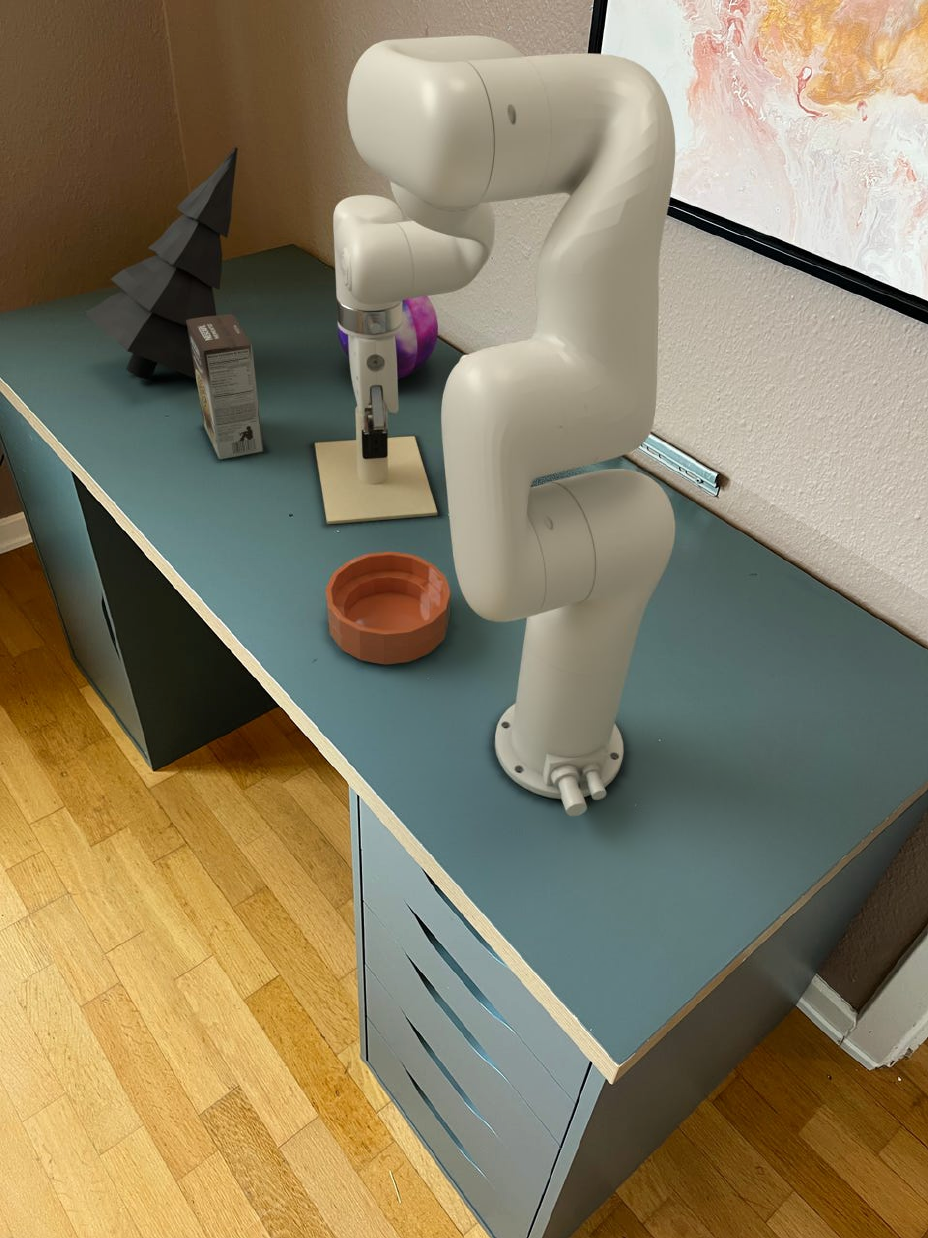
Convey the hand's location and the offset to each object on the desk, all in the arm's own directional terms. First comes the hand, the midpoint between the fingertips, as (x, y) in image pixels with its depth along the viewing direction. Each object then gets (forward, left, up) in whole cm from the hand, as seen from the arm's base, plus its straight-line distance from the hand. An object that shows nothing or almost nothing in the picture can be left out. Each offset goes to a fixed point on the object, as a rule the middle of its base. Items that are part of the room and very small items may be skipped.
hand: (372, 445), depth 119 cm
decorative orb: (+28, -6, -5) cm, 29 cm away
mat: (0, 0, -5) cm, 5 cm away
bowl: (-28, +2, -5) cm, 29 cm away
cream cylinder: (0, 0, -5) cm, 5 cm away
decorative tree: (+34, +24, -5) cm, 42 cm away
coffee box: (+12, +18, -5) cm, 22 cm away
